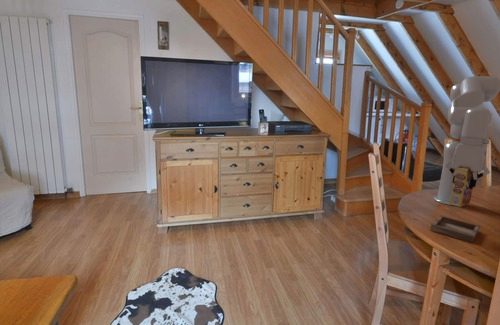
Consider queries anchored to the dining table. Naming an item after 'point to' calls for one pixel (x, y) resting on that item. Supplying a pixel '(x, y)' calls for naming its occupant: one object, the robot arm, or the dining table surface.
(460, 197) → the candy box
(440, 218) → the tray
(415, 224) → the dining table surface
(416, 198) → the dining table surface
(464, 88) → the robot arm
